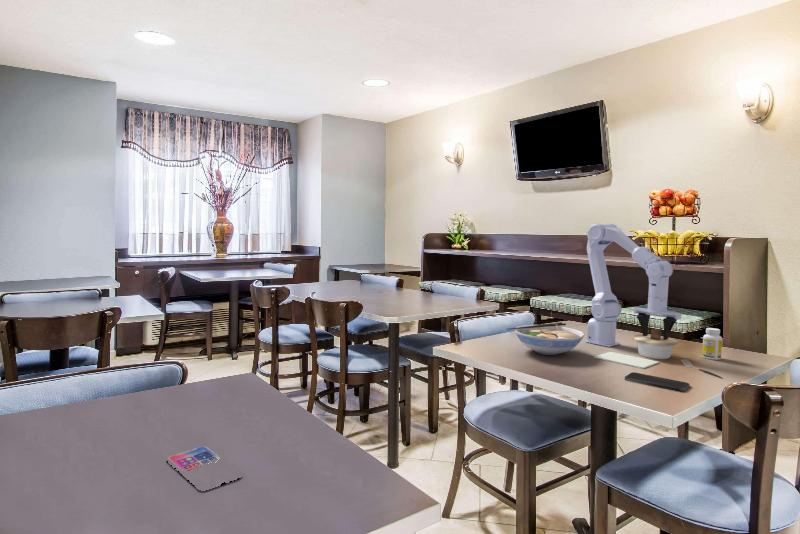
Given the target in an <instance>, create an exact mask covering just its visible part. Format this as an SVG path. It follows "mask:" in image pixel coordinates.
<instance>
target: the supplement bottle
mask: <svg viewBox="0 0 800 534" xmlns="http://www.w3.org/2000/svg"><path fill="white" fill-rule="evenodd" d="M705 333H706V334H704V335H702V336H703V337H702V351H701V353H702V354H701V356H702V358H704V359H706V360H713V361H714V360H721V359H722V348H723V346H722V345H723V337H722V336H721V335H720V334H721V329H719V328H715V327H714V328H713V327H706V329H705Z"/></svg>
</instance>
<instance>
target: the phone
mask: <svg viewBox="0 0 800 534" xmlns="http://www.w3.org/2000/svg"><path fill="white" fill-rule="evenodd" d="M624 380H625V381H627V382H630V383H631V382H632V383H635V384H639V385H640V384H641V385H645V386H648V387H649V386H650V387H655V388H660V389H664V390H670V391H673V390H674V392H678V391H679V392H680V393H684V392H685V391H687V390H688V389H689V388H690V383H689V382H685V381H680V380H675V379H671V378H666V377H664V378H663V377H659V376H655V375H649V374H645V373H640V372H634V371H632V372H630V373H628V374H626V375H625V376H624Z"/></svg>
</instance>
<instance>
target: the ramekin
mask: <svg viewBox="0 0 800 534" xmlns="http://www.w3.org/2000/svg"><path fill="white" fill-rule="evenodd" d="M636 342H637V352H638V354H639V355H640V357H644V358H646V359H648V358H649V359H652V360H667V359H670V357H671V356H672V354H673V353H672V352H673V349H674V346H675V345H654V344H648V343H643V342H639V341H636Z"/></svg>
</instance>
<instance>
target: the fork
mask: <svg viewBox="0 0 800 534" xmlns="http://www.w3.org/2000/svg"><path fill="white" fill-rule="evenodd" d="M680 360H681V361H682V363H683V365H684V366H685V367H687V368H688V367H692V368H693V369H695V370H698V371H700V372H703V373H704V374H707V375H711V376H712V377H713V376H714V377H716V378H719V379H724V378H723V377H722V376H720V375H718V374H715V373H714V372H711V371H708V370H705V369H701V368H698V367H695V366H694V365H693V364H692V363H691V362H690V361H689V359H688V358H685V359H684V358H683V359H682V358H681V359H680Z"/></svg>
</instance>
